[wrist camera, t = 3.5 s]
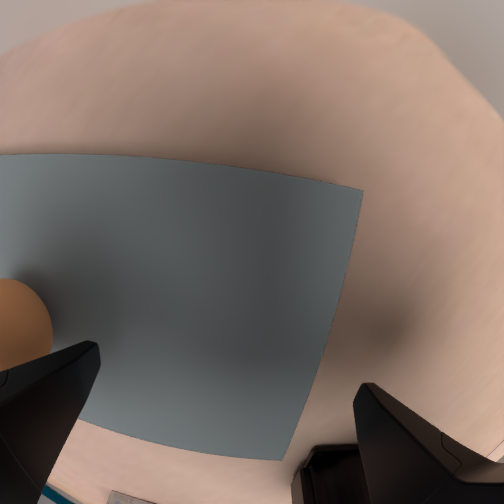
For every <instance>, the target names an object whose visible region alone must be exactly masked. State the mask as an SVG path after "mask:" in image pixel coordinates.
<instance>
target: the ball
mask: <svg viewBox="0 0 504 504" xmlns="http://www.w3.org/2000/svg"><path fill="white" fill-rule="evenodd" d="M52 343H53V329H52V323H51V319H50V315H49V313H48V310H47V308H46V306H45V305H44V303H43V301H42V300H41V298H40V297H39V296H38V295H37V294H36V292H34V291H33V290H32V289H31V288H30V287H28V286H27V285H25V284H24V283H22V282H19V281H17V280H13V279H0V372H1V371H3V370H6V369H10V368H12V367H15V366H18V365H20V364H23V363H26V362H29V361H31V360H34V359H37V358H40V357H42V356H45V355H48V354H50V352H51V349H52Z"/></svg>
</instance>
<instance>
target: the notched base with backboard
mask: <svg viewBox="0 0 504 504" xmlns="http://www.w3.org/2000/svg"><path fill="white" fill-rule="evenodd" d="M362 196H363V190H359V189H355V188H350V187H346V186H341V185H336V184H332V183H327V182H322V181H317V180H312V179H307V178H301V177H296V176H290V175H285V174H279V173H273V172H267V171H261V170H254V169H247V168H241V167H233V166H226V165H218V164H210V163H202V162H193V161H184V160H173V159H162V158H150V157H136V156H120V155H98V154H15V155H0V279H13V280H17V281H19V282H22V283H24V284H25V285H27V286H28V287H30V288H31V289H32V290H33V291H34V292H36V294H37V295H38V296H39V297H40V298H41V300H42V301H43V303H44V305H45V306H46V308H47V310H48V313H49V315H50V319H51V323H52V329H53V343H52V349H51V352H50V354H51V353H53V352H56V351H59V350H62V349H64V348H67V347H70V346H72V345H75V344H78V343H80V342H83V341H85V340H90V341H93V342H96V343H98V345H99V350H100V358H101V367H100V370H99V372H98V375H97V377H96V379H95V382H94V384H93V387H92V389H91V392H90V394H89V397H88V399H87V401H86V403H85V405H84V407H83V409H82V411H81V413H80V415H79V417H78V419H80V420H83V421H85V422H88V423H91V424H94V425H96V426H99V427H102V428H105V429H108V430H111V431H114V432H117V433H120V434H124V435H127V436H130V437H134V438H137V439H141V440H145V441H149V442H153V443H157V444H161V445H165V446H170V447H174V448H179V449H184V450H189V451H195V452H201V453H207V454H214V455H221V456H229V457H238V458H248V459H261V460H279V461H282V460H283V458H284V455H285V453H286V451H287V448H288V446H289V444H290V441H291V439H292V436H293V434H294V431H295V429H296V427H297V424H298V421H299V419H300V416H301V414H302V411H303V409H304V406H305V403H306V401H307V398H308V395H309V392H310V390H311V387H312V384H313V381H314V378H315V375H316V373H317V370H318V367H319V364H320V361H321V358H322V355H323V351H324V348H325V345H326V342H327V339H328V335H329V332H330V329H331V326H332V322H333V319H334V315H335V312H336V308H337V305H338V301H339V297H340V294H341V290H342V286H343V282H344V278H345V274H346V270H347V266H348V262H349V258H350V254H351V249H352V245H353V241H354V236H355V231H356V227H357V222H358V217H359V212H360V207H361V202H362Z"/></svg>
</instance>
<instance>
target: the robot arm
mask: <svg viewBox="0 0 504 504" xmlns="http://www.w3.org/2000/svg"><path fill="white" fill-rule="evenodd" d="M100 367H101V358H100V350H99V345H98V343H96V342H93V341H90V340H85V341H83V342H80V343H78V344H75V345H72V346H70V347H67V348H64V349H62V350H59V351H56V352H53V353H51V354H48V355H45V356H42V357H40V358H37V359H34V360H31V361H29V362H26V363H23V364H20V365H18V366H15V367H12V368H10V369H6V370H3V371H1V372H0V504H37V503H38V500H39V498H40V496H41V492H42V491H43V488H44V486H45V484H46V482H47V479H48V477H49V475H50V473H51V471H52V469H53V466H54V464H55V462H56V460H57V458H58V456H59V454H60V452H61V450H62V448H63V446H64V444H65V442H66V440H67V438H68V436H69V434H70V432H71V430H72V428H73V426H74V424H75V422H76V420H77V419H78V417H79V415H80V413H81V411H82V409H83V407H84V405H85V403H86V401H87V399H88V397H89V394H90V392H91V389H92V387H93V384H94V382H95V379H96V377H97V375H98V372H99V370H100ZM353 409H354V417H355V425H356V433H357V440H358V445H348V446H321V447H316V448H314V449H313V450H312V451H311V453H310V455H309V457H308V459H307V460H306V462H305V464H304V466H303V467H302V468H301V469H300V470H299V471H298V473H297V475H296V476H295V478H294V480H293V482H292V483H291V494H292V504H504V463H497V462H494V461H492V460H489V459H488V458H486V457H484V456H482V455H480V454H478V453H476V452H474V451H473V450H471V449H469V448H467V447H465V446H464V445H462V444H460V443H459V442H457V441H455V440H454V439H452V438H451V437H449V436H448V435H446V434H445V433H443V432H441V431H440V430H439V429H438V428H436V427H435V426H433V425H432V424H430V423H429V422H428V421H426V420H425V419H423V418H422V417H420V416H419V415H418V414H416V413H415V412H413V411H412V410H411V409H409V408H408V407H406V406H405V405H404V404H402V403H401V402H399V401H398V400H397V399H395V398H394V397H392V396H391V395H390V394H388V393H387V392H386V391H384V390H383V389H381V388H380V387H379V386H377V385H376V384H375V383H362V384H361V386H360V388H359V390H358V392H357V394H356V396H355V398H354V401H353Z"/></svg>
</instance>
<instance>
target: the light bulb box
mask: <svg viewBox="0 0 504 504" xmlns="http://www.w3.org/2000/svg"><path fill="white" fill-rule="evenodd" d="M107 504H154V503H150V502H146V501H143V500H140V499H136V498H133V497H130V496H127V495H124V494H121V493H118V492H116V491H113V490H112V491H111V494H110V496H109V499H108V501H107Z"/></svg>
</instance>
